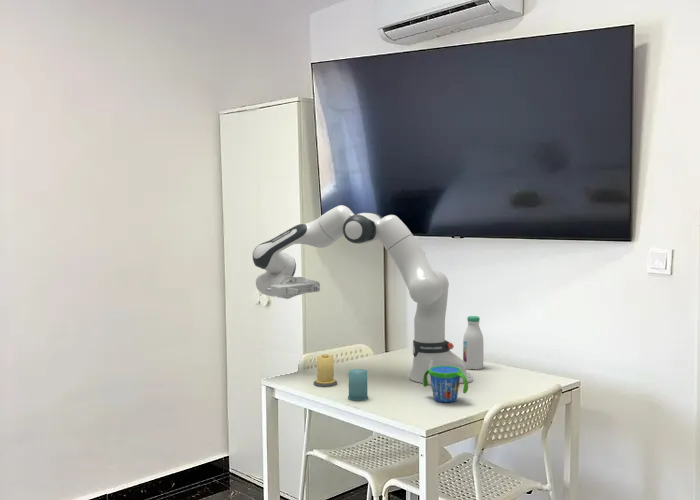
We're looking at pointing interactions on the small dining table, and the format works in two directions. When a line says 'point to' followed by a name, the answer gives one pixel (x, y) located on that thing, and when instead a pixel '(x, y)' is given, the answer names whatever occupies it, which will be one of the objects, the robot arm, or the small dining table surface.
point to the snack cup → (445, 382)
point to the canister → (357, 385)
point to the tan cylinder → (325, 370)
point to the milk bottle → (473, 344)
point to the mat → (325, 385)
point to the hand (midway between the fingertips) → (308, 290)
